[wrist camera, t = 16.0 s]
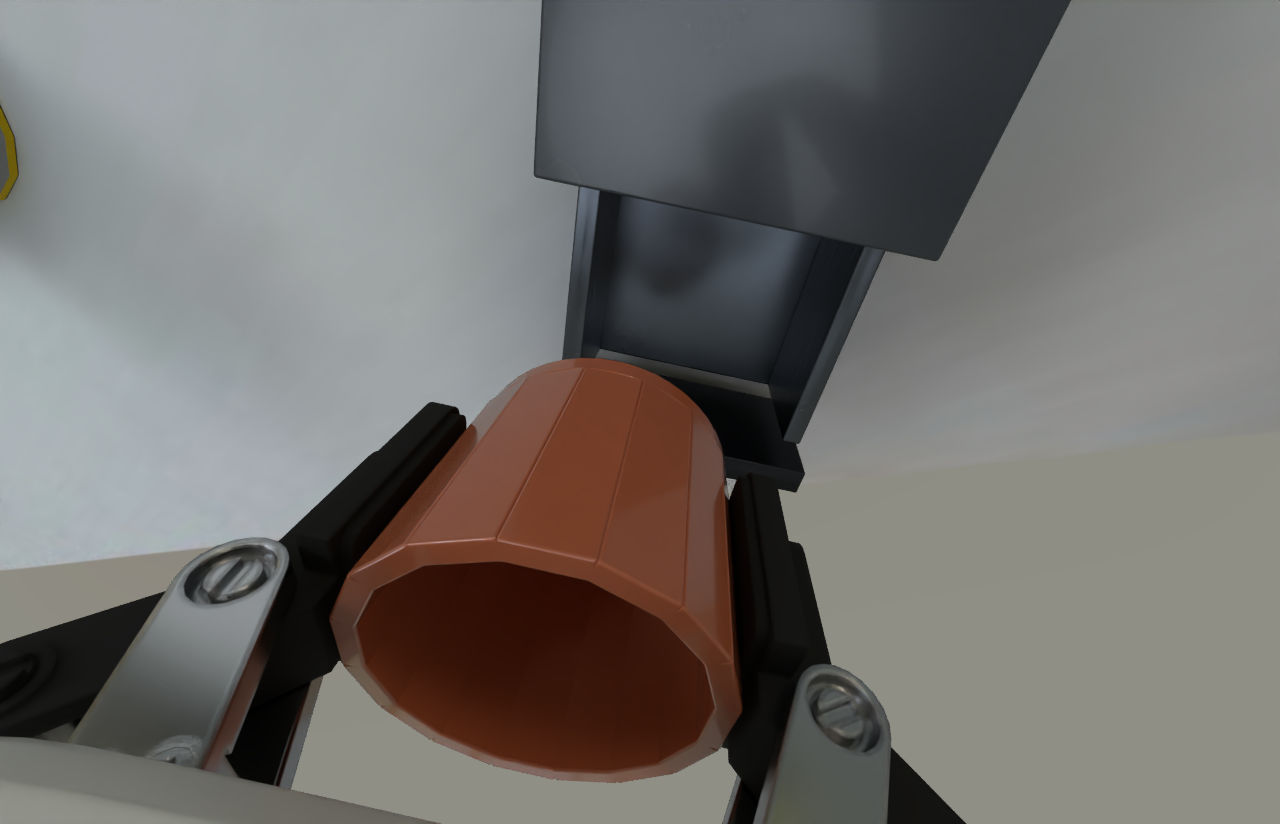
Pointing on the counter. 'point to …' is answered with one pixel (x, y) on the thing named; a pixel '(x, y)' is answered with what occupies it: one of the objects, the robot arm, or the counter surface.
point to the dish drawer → (718, 314)
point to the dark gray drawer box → (788, 107)
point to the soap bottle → (6, 158)
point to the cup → (560, 584)
